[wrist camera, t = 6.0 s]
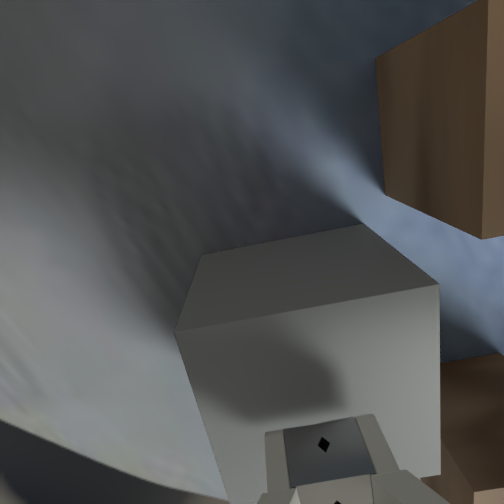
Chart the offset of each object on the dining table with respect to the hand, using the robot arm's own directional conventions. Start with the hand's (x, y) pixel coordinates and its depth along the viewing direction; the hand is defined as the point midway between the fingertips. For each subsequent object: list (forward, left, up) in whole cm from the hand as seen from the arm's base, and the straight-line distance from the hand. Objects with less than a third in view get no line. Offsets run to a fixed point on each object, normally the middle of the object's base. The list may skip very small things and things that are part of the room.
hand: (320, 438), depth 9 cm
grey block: (0, 0, -7) cm, 7 cm away
